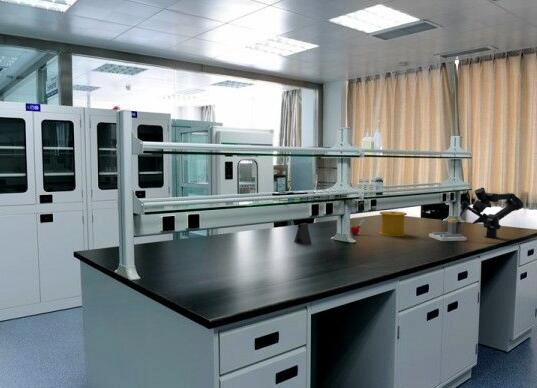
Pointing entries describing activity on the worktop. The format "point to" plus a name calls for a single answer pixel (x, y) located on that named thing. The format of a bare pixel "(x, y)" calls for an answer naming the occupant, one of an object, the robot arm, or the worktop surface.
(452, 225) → the breaker handle
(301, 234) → the phone stand
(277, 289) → the worktop surface
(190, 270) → the worktop surface
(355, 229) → the molecular model
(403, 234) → the spool
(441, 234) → the white rail base plate
